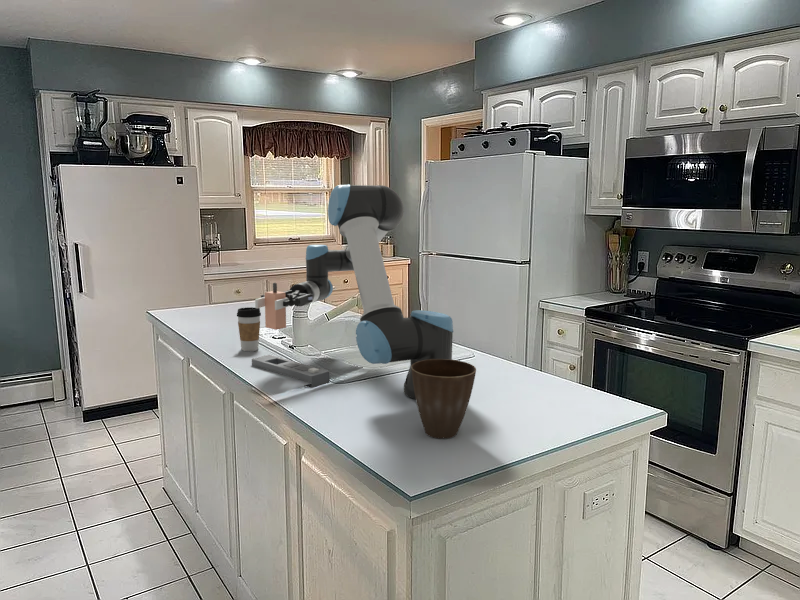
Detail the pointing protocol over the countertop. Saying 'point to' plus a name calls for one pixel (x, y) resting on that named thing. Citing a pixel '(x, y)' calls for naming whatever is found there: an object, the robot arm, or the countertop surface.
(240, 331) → the coffee cup
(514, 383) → the countertop surface
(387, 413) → the countertop surface
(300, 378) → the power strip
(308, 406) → the countertop surface
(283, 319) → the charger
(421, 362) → the plant pot
